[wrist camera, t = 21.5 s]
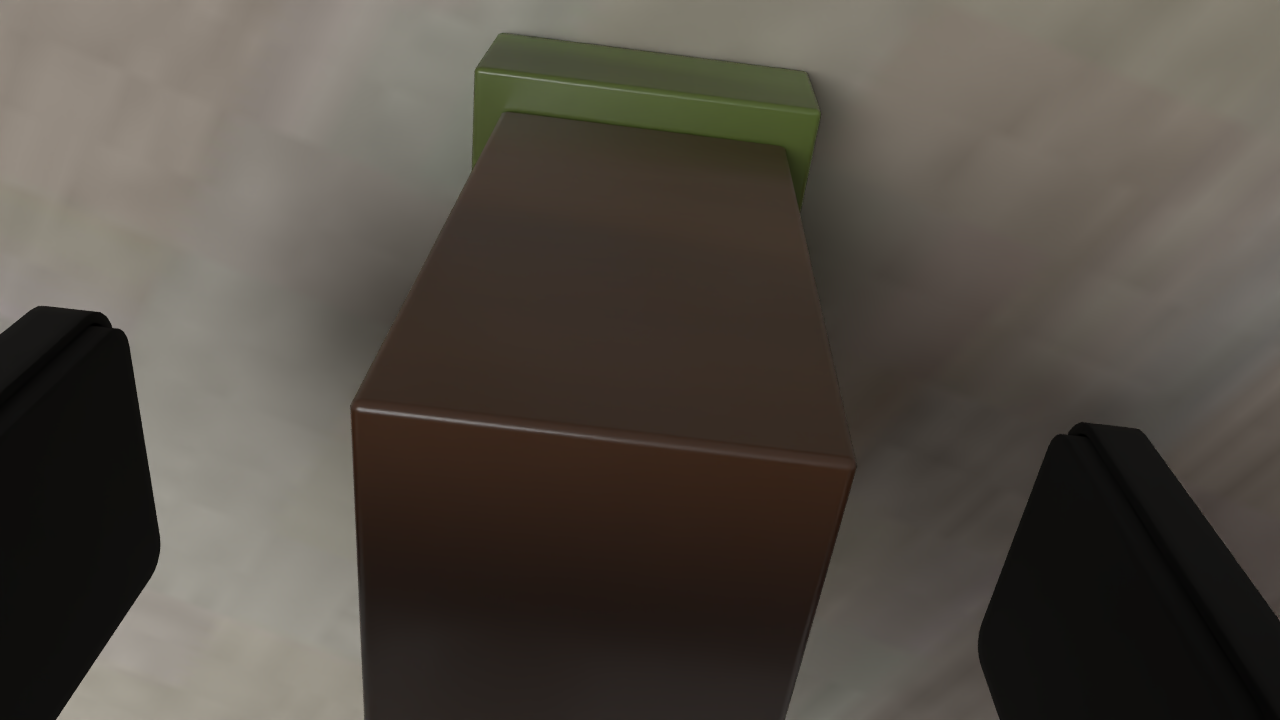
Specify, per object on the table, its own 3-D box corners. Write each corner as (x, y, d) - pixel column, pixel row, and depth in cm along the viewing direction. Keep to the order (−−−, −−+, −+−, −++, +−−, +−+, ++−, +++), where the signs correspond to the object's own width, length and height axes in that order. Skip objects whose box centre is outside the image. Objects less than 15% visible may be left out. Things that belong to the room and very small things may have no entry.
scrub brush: (750, 363, 14) (793, 839, 8) (486, 331, 14) (324, 787, 8) (808, 70, 12) (930, 415, 6) (497, 30, 12) (289, 336, 6)
